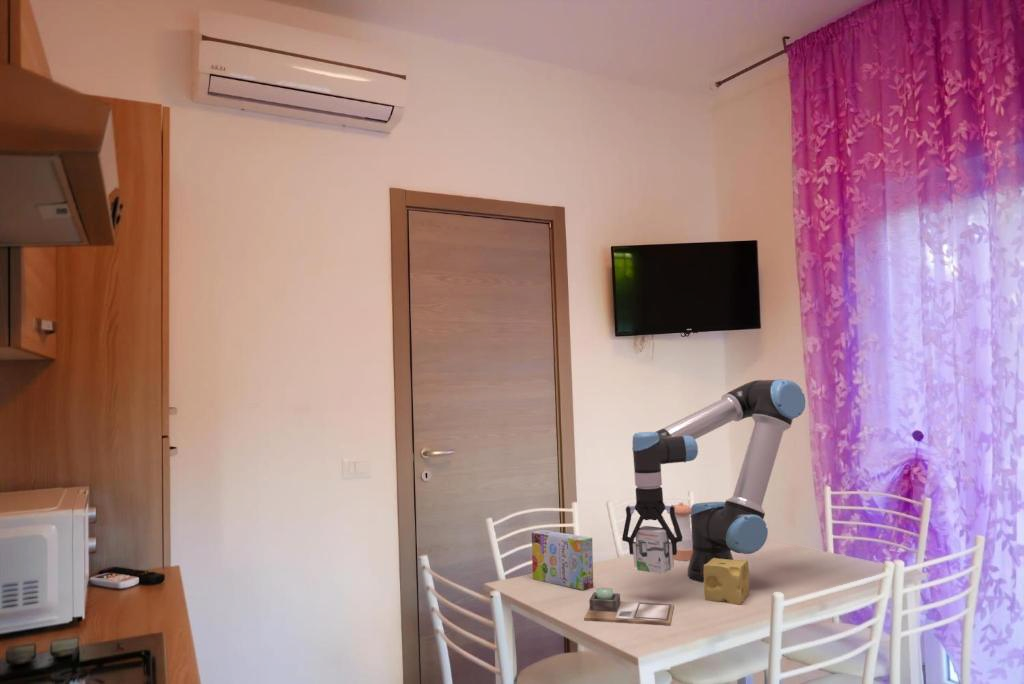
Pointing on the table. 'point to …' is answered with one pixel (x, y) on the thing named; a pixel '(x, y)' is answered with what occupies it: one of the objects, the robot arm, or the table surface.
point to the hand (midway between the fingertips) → (654, 566)
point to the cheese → (726, 580)
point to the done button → (604, 593)
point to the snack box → (562, 559)
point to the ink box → (652, 550)
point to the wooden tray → (628, 611)
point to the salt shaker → (683, 532)
